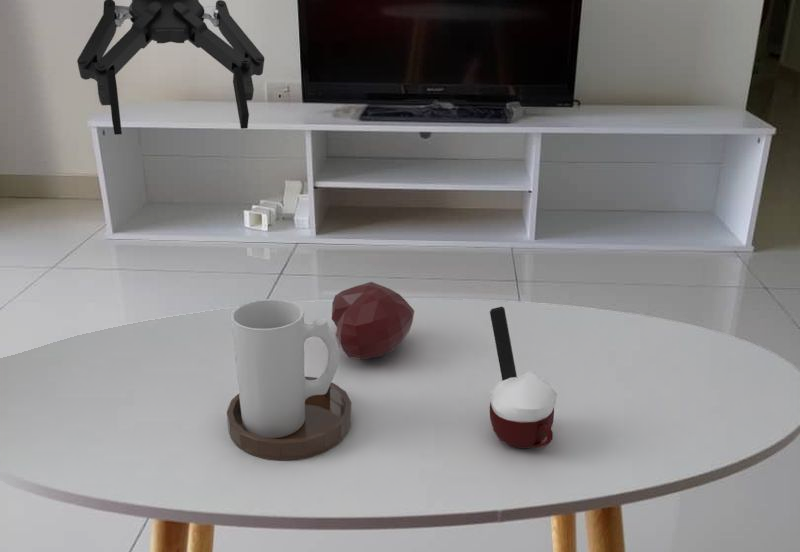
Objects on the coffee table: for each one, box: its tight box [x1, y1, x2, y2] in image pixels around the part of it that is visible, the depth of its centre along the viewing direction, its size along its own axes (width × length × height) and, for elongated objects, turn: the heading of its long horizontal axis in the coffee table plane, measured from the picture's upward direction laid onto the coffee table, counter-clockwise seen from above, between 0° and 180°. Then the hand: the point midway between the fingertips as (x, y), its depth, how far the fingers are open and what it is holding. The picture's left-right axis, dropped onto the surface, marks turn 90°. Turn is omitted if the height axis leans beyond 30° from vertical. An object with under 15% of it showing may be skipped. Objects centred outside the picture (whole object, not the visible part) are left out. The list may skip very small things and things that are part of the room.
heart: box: [331, 281, 415, 360], centre depth 90 cm, size 12×8×10 cm
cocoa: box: [489, 306, 557, 449], centre depth 72 cm, size 10×6×12 cm, turn 4°
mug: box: [230, 298, 340, 438], centre depth 73 cm, size 10×7×12 cm, turn 100°
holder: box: [226, 375, 353, 461], centre depth 75 cm, size 12×12×2 cm
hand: (182, 124), depth 82 cm, fingers open, 13 cm apart
